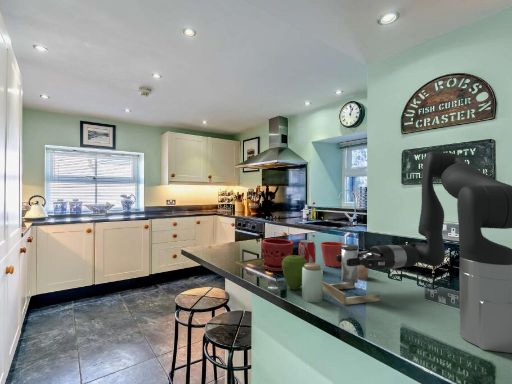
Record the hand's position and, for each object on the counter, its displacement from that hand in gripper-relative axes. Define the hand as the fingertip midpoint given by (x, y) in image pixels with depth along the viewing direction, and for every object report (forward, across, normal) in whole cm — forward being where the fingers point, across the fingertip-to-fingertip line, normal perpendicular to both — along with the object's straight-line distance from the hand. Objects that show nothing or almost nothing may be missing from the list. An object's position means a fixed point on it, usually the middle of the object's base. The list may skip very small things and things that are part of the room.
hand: (342, 260), depth 84 cm
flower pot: (-19, -34, +12) cm, 41 cm away
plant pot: (+8, -34, +11) cm, 37 cm away
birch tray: (-2, 0, +11) cm, 11 cm away
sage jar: (+10, 0, +11) cm, 15 cm away
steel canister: (-3, 0, +6) cm, 7 cm away
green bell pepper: (+12, -10, +11) cm, 19 cm away
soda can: (-4, -30, +11) cm, 33 cm away
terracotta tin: (-18, -15, +11) cm, 26 cm away
